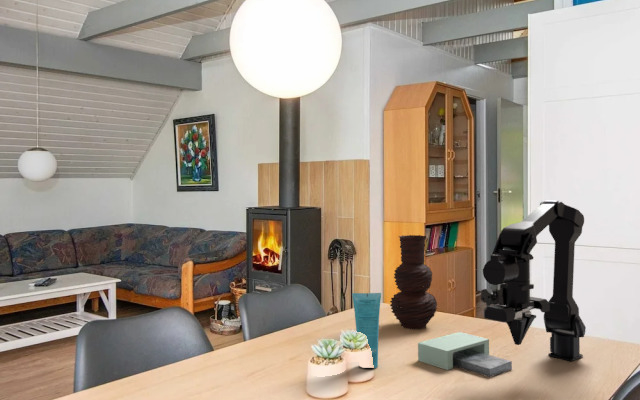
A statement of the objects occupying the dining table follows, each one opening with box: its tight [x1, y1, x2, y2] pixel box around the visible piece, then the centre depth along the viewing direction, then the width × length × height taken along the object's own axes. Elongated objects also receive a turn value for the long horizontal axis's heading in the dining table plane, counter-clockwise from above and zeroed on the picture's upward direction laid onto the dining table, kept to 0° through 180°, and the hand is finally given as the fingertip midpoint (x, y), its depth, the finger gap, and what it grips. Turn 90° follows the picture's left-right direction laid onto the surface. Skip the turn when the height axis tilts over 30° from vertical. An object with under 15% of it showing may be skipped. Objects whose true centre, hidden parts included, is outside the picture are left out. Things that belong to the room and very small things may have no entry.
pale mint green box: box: [417, 331, 490, 371], centre depth 151 cm, size 10×17×5 cm, turn 127°
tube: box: [351, 292, 382, 369], centre depth 146 cm, size 7×5×19 cm, turn 96°
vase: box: [389, 234, 438, 330], centre depth 186 cm, size 15×15×30 cm
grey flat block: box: [453, 349, 513, 378], centre depth 146 cm, size 18×9×2 cm, turn 37°
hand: (517, 344), depth 135 cm, fingers closed
